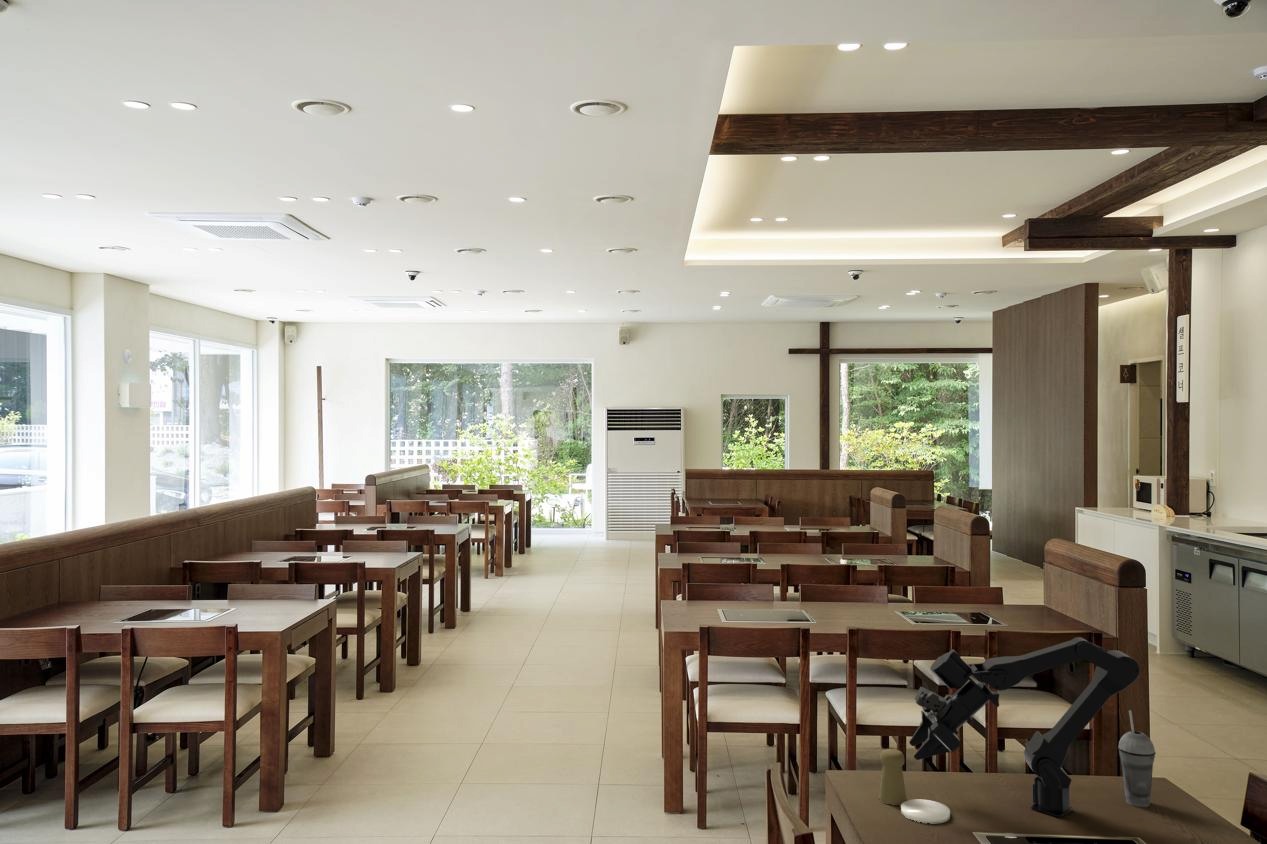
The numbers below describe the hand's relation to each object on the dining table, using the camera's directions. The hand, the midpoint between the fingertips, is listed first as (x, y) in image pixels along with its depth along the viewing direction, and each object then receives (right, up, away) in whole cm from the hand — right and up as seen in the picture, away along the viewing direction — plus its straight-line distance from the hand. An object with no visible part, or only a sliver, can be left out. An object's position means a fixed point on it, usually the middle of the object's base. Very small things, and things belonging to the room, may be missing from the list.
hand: (912, 751), depth 202 cm
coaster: (0, -11, -7) cm, 13 cm away
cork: (-4, -11, +1) cm, 12 cm away
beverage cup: (+49, -11, -2) cm, 50 cm away
